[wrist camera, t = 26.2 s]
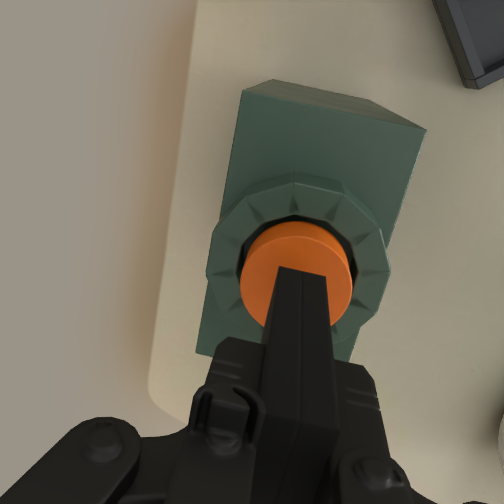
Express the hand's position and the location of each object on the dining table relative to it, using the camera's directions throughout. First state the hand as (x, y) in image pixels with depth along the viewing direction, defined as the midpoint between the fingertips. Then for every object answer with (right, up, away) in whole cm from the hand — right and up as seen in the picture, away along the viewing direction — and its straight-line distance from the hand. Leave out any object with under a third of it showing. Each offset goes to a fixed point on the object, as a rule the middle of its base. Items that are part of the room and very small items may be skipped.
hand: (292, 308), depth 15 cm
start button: (0, +1, +3) cm, 4 cm away
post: (+2, +8, +20) cm, 21 cm away
